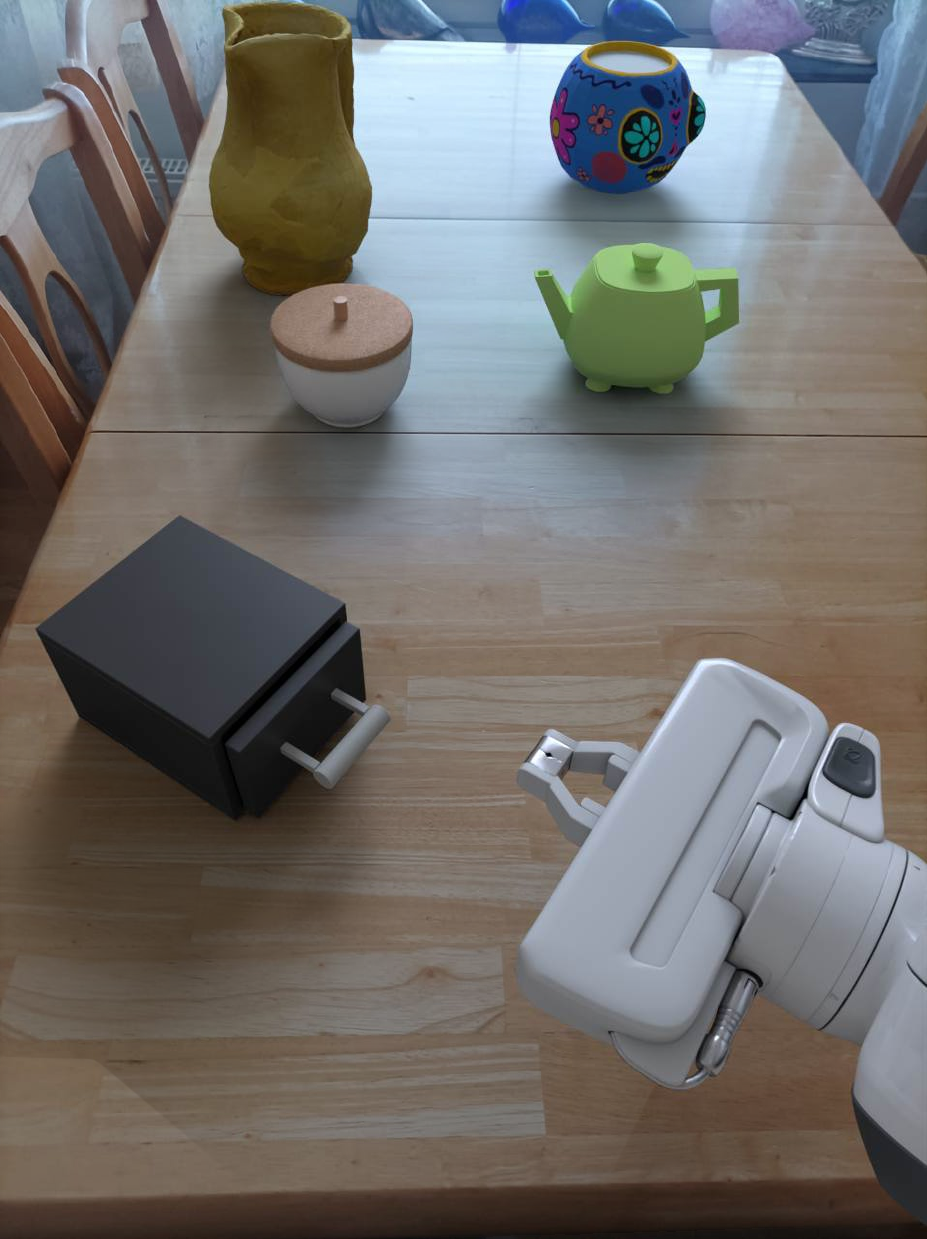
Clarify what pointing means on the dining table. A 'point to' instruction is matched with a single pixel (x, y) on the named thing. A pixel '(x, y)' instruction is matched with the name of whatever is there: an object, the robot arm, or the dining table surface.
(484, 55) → the dining table surface
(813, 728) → the robot arm
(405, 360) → the lidded bowl
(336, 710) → the drawer
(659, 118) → the ceramic pot
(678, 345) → the teapot
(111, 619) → the cabinet
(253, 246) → the pitcher
